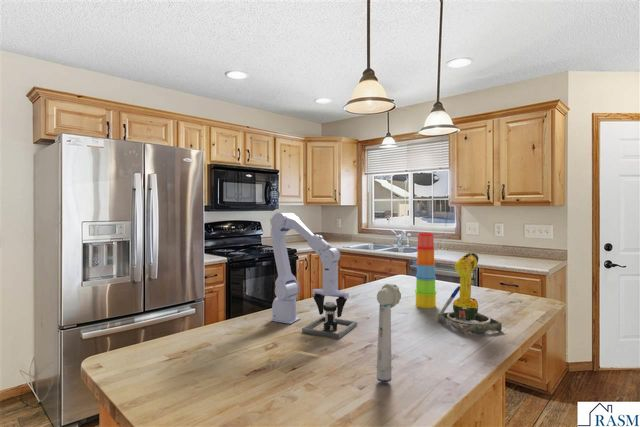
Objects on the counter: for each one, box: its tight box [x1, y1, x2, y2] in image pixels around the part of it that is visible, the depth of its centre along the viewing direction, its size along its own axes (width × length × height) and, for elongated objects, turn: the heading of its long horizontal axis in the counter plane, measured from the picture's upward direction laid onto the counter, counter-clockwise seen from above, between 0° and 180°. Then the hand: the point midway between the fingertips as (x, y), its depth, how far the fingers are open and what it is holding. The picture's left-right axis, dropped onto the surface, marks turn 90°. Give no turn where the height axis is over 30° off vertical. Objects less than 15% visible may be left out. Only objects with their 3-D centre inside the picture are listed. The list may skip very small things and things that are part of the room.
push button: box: [319, 301, 338, 332], centre depth 136 cm, size 7×5×10 cm
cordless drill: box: [437, 252, 503, 335], centre depth 140 cm, size 18×19×28 cm
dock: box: [301, 316, 358, 340], centre depth 137 cm, size 15×17×2 cm
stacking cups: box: [414, 232, 438, 309], centre depth 167 cm, size 10×10×35 cm
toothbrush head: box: [375, 283, 402, 383], centre depth 96 cm, size 5×7×25 cm
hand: (330, 315), depth 137 cm, fingers open, 7 cm apart
